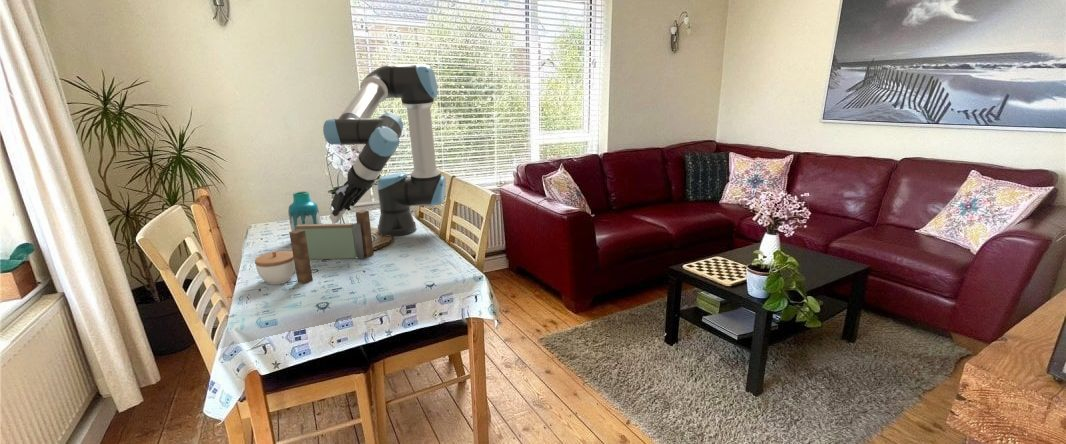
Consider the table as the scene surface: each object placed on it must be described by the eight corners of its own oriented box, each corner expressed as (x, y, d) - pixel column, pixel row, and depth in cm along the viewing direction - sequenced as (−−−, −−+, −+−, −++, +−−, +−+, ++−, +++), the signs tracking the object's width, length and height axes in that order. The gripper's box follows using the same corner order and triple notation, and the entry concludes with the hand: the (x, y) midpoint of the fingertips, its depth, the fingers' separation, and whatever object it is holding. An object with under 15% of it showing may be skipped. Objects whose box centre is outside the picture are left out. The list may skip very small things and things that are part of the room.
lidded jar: (282, 289, 135) (276, 259, 133) (250, 286, 138) (244, 256, 135) (306, 274, 146) (301, 246, 143) (276, 272, 148) (271, 245, 145)
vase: (299, 247, 171) (291, 197, 166) (288, 241, 178) (280, 193, 173) (328, 240, 178) (321, 192, 173) (316, 235, 185) (309, 188, 180)
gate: (365, 255, 161) (361, 222, 157) (363, 258, 158) (359, 224, 155) (303, 257, 160) (297, 224, 156) (300, 260, 157) (294, 226, 154)
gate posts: (367, 253, 164) (362, 209, 159) (373, 254, 163) (368, 210, 158) (297, 282, 140) (289, 232, 136) (304, 283, 139) (296, 233, 134)
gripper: (373, 158, 141) (342, 206, 153) (339, 165, 130) (308, 216, 142) (388, 176, 141) (356, 223, 153) (355, 185, 129) (323, 234, 142)
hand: (333, 219), depth 147 cm, fingers closed
